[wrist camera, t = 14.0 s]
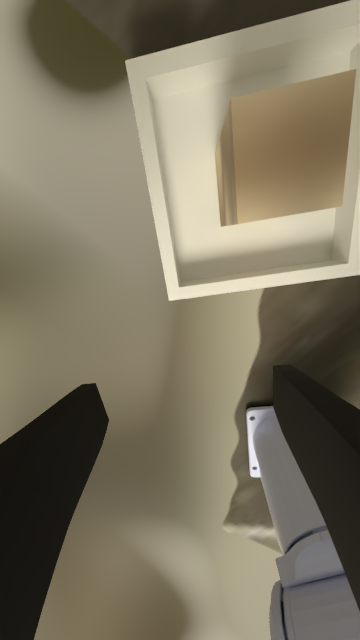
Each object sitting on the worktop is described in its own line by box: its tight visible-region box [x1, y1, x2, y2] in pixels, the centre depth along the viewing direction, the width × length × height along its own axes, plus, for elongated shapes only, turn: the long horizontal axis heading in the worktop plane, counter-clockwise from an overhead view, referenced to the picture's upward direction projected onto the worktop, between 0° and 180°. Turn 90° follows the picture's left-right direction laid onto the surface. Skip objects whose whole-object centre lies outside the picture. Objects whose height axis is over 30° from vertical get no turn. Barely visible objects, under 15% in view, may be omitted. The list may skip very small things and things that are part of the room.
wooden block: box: [215, 69, 356, 227], centre depth 11 cm, size 4×4×6 cm
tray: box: [125, 0, 360, 301], centre depth 13 cm, size 12×12×2 cm
